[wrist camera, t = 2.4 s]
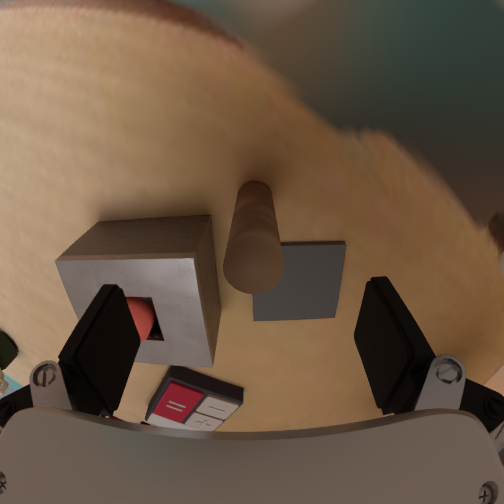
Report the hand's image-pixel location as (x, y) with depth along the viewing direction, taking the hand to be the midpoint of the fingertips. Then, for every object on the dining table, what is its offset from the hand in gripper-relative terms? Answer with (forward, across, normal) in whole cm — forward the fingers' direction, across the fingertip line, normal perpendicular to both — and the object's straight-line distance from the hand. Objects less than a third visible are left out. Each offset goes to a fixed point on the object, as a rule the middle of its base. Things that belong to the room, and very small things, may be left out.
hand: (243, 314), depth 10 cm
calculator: (+16, +10, +32) cm, 37 cm away
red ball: (+10, +10, +8) cm, 16 cm away
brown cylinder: (+16, 0, +1) cm, 16 cm away
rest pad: (+16, -4, +10) cm, 19 cm away
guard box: (+16, +10, +8) cm, 20 cm away
